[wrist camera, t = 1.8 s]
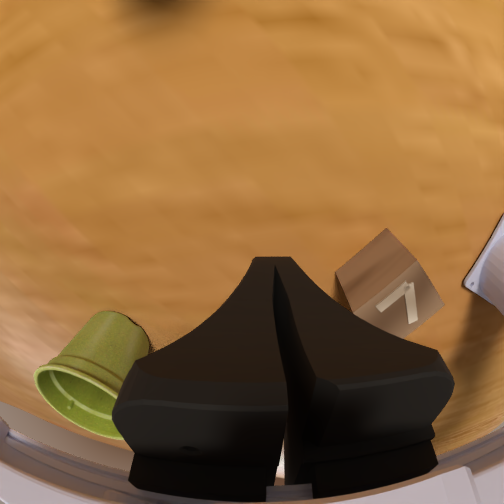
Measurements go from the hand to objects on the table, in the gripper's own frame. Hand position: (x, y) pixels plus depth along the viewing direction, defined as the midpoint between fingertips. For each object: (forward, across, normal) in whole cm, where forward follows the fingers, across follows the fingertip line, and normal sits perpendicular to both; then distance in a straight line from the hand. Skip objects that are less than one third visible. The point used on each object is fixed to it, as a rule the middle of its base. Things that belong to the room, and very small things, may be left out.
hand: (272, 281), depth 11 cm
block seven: (+10, -9, +5) cm, 14 cm away
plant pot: (+10, +13, +12) cm, 20 cm away
